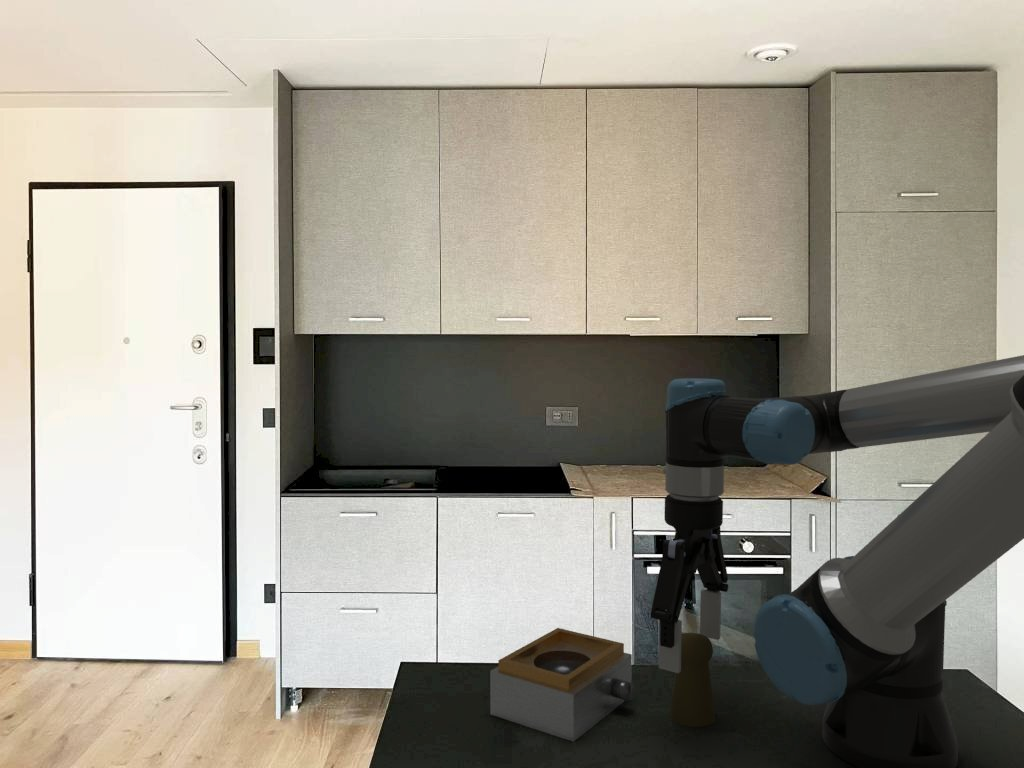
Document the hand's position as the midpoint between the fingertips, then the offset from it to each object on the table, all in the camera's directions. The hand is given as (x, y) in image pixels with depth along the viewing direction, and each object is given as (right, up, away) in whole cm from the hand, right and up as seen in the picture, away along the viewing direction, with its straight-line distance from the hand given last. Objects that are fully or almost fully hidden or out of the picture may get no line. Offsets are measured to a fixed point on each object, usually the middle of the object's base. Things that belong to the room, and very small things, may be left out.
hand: (690, 652), depth 107 cm
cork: (0, -9, 0) cm, 9 cm away
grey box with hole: (-16, -8, +3) cm, 18 cm away
